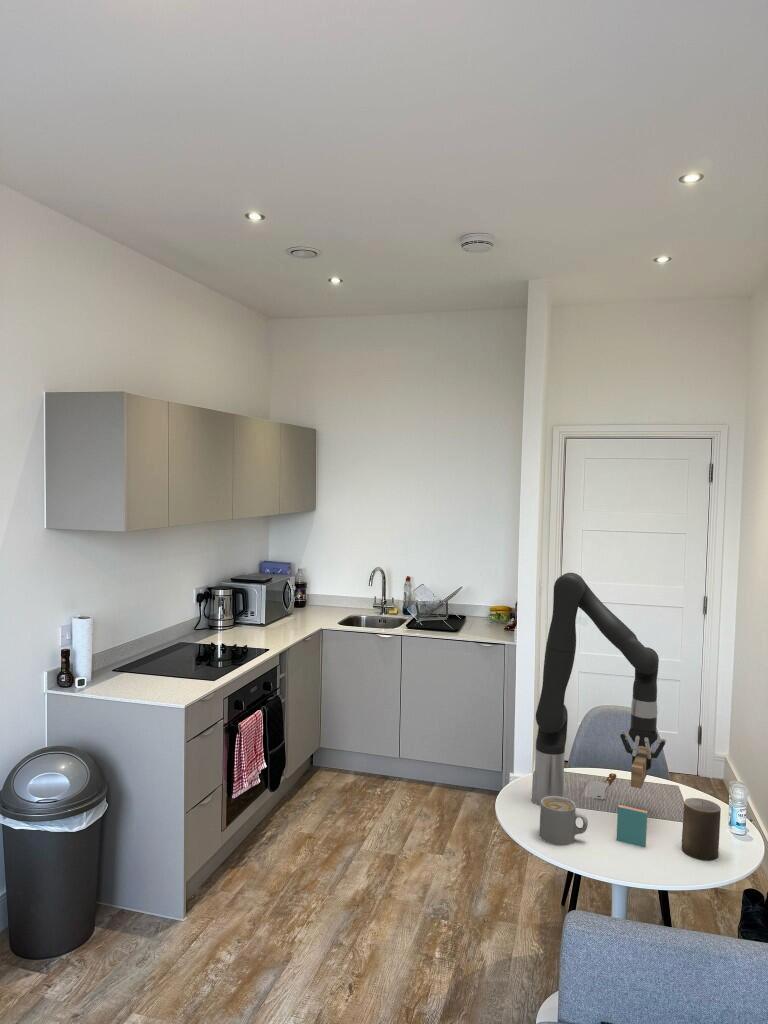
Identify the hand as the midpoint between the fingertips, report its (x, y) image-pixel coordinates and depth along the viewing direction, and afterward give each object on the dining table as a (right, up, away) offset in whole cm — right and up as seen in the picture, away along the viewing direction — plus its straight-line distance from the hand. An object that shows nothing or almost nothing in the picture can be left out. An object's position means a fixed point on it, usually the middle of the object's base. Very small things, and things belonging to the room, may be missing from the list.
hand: (641, 768), depth 222 cm
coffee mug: (-28, -16, -12) cm, 34 cm away
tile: (-8, -17, -14) cm, 23 cm away
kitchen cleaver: (-5, -16, +26) cm, 31 cm away
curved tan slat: (0, -2, 0) cm, 2 cm away
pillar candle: (+10, -18, -17) cm, 27 cm away
